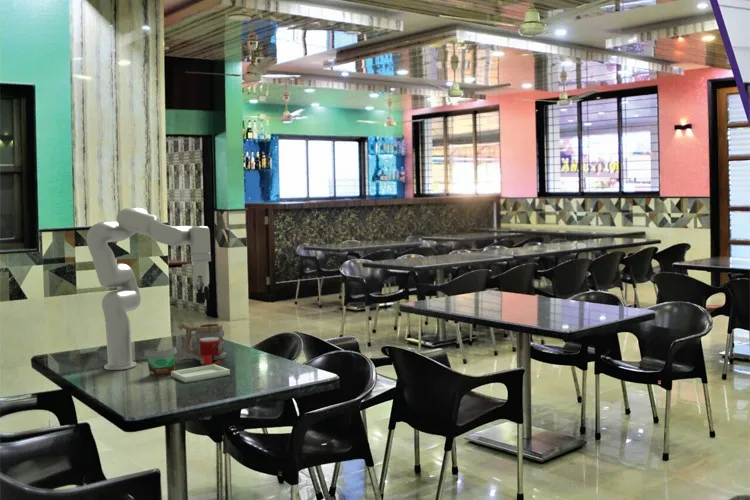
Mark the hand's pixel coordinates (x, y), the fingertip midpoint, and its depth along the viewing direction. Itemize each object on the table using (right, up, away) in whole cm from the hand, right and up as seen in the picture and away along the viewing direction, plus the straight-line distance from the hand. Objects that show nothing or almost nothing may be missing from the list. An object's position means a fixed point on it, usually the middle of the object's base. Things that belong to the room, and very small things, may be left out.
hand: (203, 301), depth 305 cm
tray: (0, -28, -7) cm, 29 cm away
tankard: (-6, -26, +28) cm, 39 cm away
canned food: (0, -27, +12) cm, 30 cm away
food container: (-15, -29, -3) cm, 32 cm away
